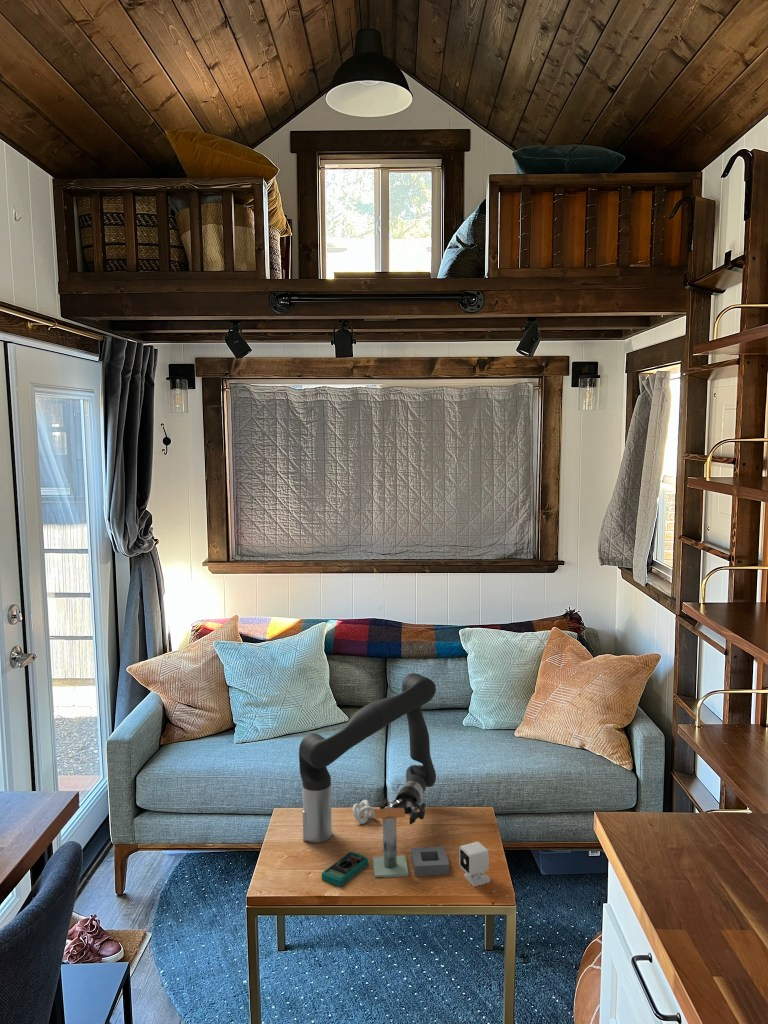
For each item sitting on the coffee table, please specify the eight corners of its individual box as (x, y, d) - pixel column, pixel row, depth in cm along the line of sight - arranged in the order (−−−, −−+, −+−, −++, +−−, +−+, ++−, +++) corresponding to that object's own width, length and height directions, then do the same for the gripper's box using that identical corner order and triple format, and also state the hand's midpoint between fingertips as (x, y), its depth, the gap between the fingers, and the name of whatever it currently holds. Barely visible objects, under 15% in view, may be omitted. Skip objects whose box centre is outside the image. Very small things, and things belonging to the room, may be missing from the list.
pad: (374, 877, 220) (374, 875, 220) (372, 859, 230) (372, 857, 230) (408, 876, 221) (408, 873, 220) (405, 857, 230) (405, 855, 230)
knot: (363, 828, 249) (363, 811, 248) (346, 821, 254) (345, 804, 254) (378, 820, 255) (378, 803, 254) (360, 812, 260) (360, 796, 259)
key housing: (415, 876, 221) (415, 866, 220) (411, 857, 231) (411, 848, 230) (449, 874, 221) (449, 864, 221) (443, 855, 231) (443, 846, 231)
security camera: (459, 878, 219) (459, 845, 219) (479, 872, 222) (479, 839, 222) (470, 889, 214) (470, 855, 213) (491, 883, 217) (491, 849, 216)
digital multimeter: (369, 865, 228) (369, 855, 227) (340, 889, 215) (340, 879, 215) (350, 858, 232) (350, 849, 231) (320, 881, 219) (320, 871, 219)
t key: (375, 869, 223) (374, 813, 222) (374, 862, 227) (373, 807, 226) (405, 867, 224) (405, 812, 222) (404, 860, 228) (403, 806, 226)
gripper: (388, 783, 250) (375, 805, 234) (430, 788, 246) (419, 810, 230) (389, 805, 250) (375, 828, 235) (430, 810, 246) (419, 834, 231)
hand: (397, 819), depth 232 cm, fingers open, 8 cm apart
